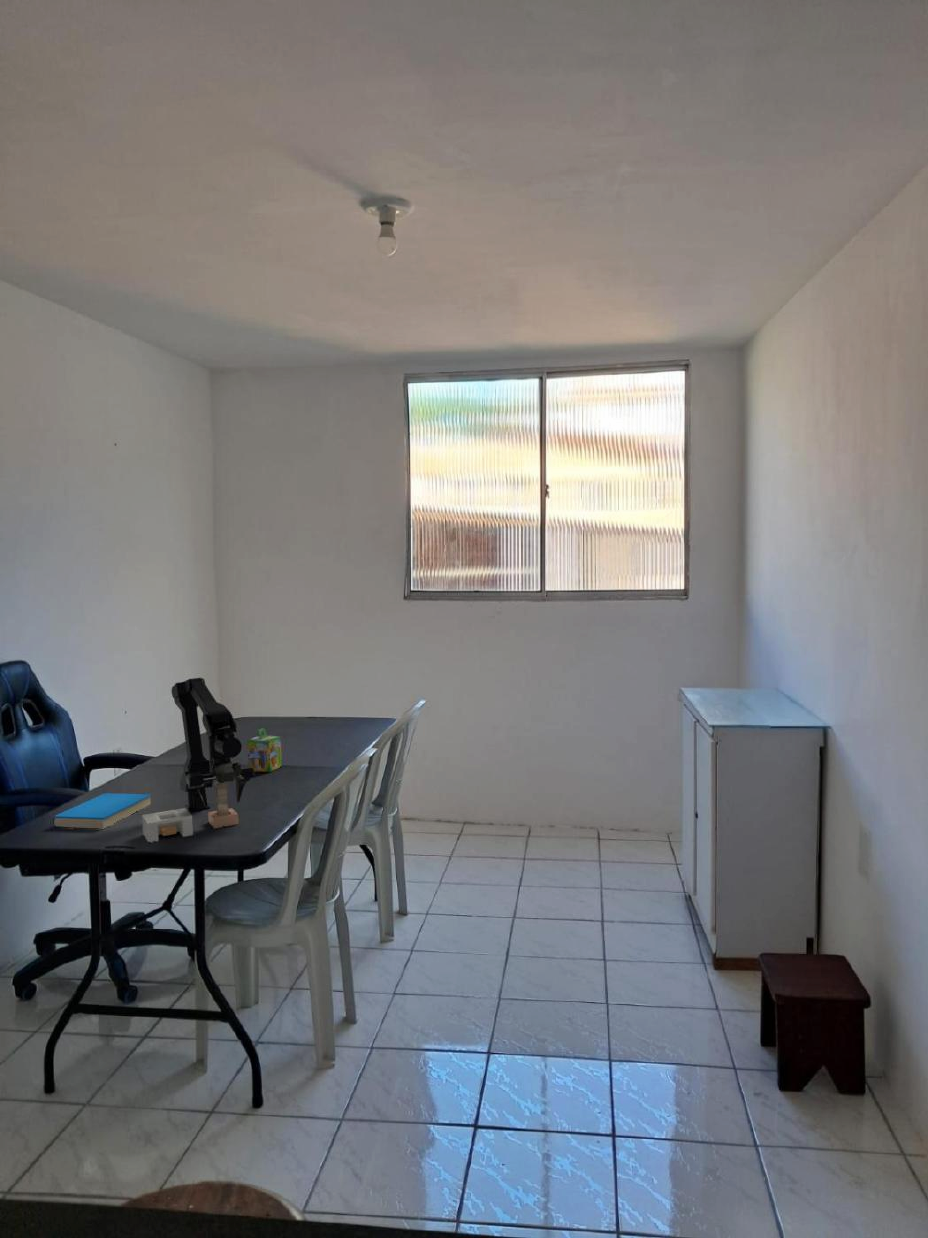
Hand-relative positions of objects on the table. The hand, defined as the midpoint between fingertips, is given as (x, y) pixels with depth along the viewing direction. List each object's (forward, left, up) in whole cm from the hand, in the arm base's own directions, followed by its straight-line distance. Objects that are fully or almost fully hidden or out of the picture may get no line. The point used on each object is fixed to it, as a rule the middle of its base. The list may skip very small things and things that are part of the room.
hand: (222, 804), depth 266 cm
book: (-29, -29, -6) cm, 42 cm away
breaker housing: (+3, -16, -6) cm, 17 cm away
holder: (0, 0, -6) cm, 6 cm away
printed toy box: (-58, +29, -6) cm, 65 cm away
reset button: (+3, -16, -5) cm, 17 cm away
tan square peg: (0, 0, -6) cm, 6 cm away
